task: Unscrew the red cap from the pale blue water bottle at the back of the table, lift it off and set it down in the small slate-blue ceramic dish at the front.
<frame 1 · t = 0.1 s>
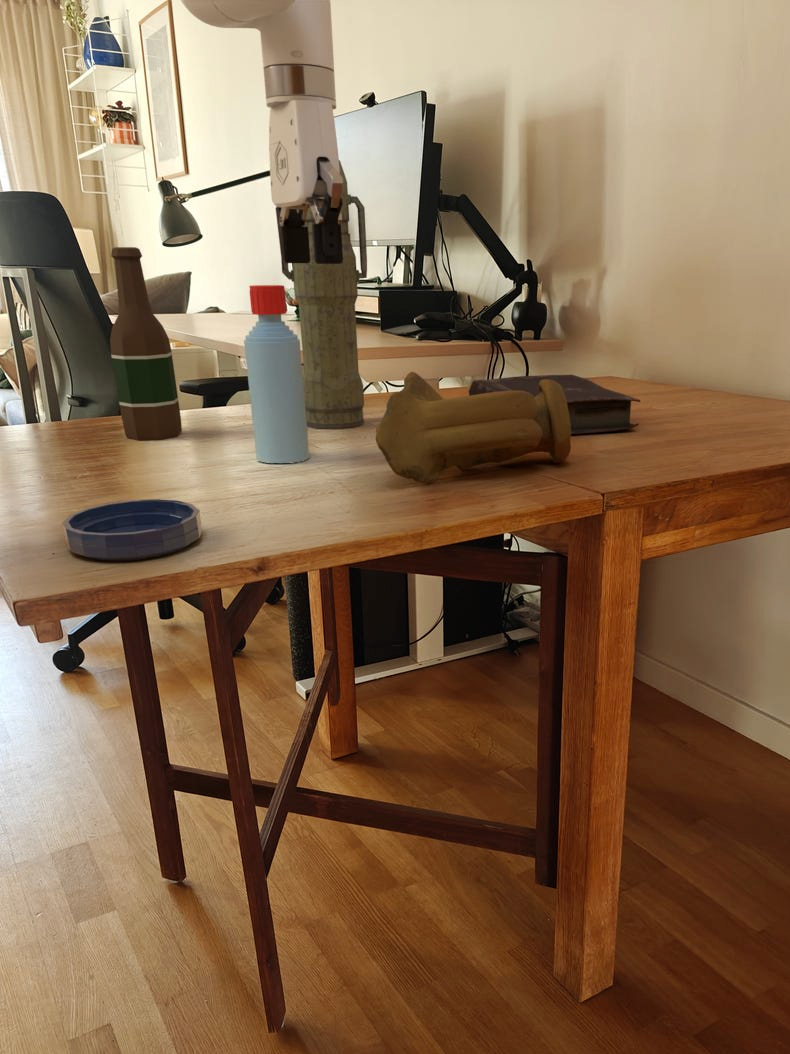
hand: (312, 263, 101), 22 cm above the table, tool pointing down, fingers open, 9 cm apart
diary: (550, 421, 131), on the table
bottle: (283, 458, 107), on the table
thermos: (334, 424, 129), on the table
beer bottle: (154, 436, 121), on the table
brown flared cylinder: (475, 473, 100), on the table
cap: (267, 288, 99), point 20 cm above the table, screwed on, not yet turned
dish: (137, 543, 76), on the table
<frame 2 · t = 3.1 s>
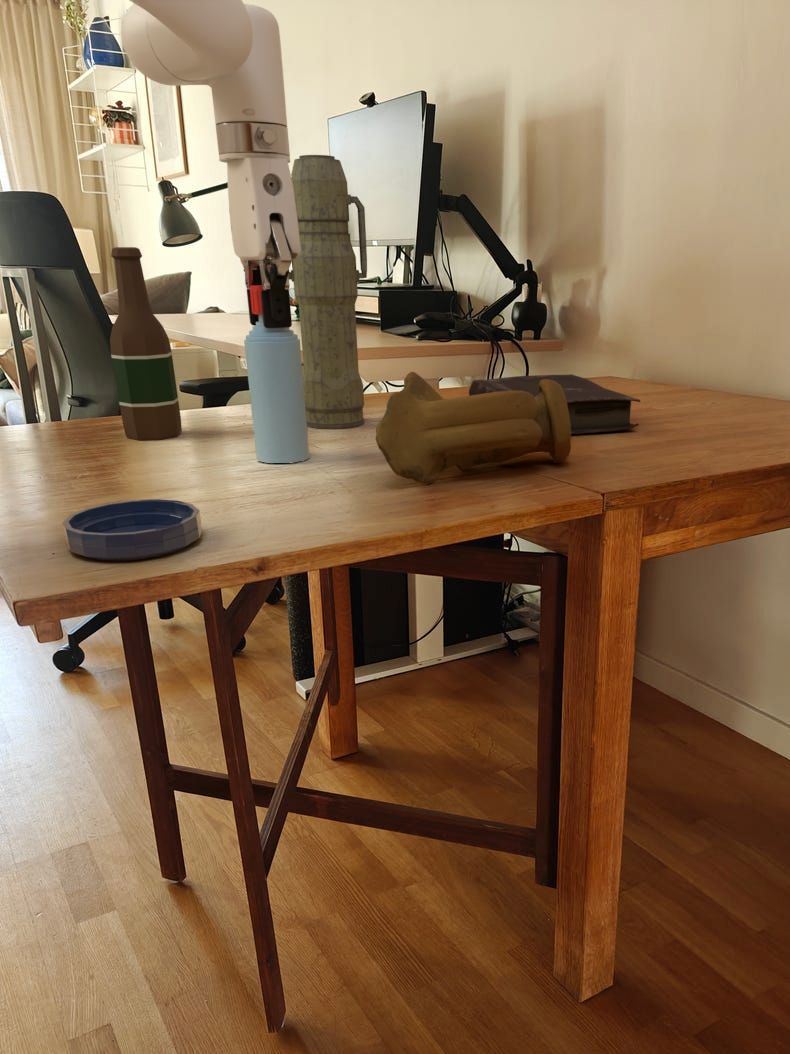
hand: (270, 324, 101), 16 cm above the table, tool pointing down, fingers open, 4 cm apart
bottle: (283, 458, 107), on the table, touching gripper
everything else where it was.
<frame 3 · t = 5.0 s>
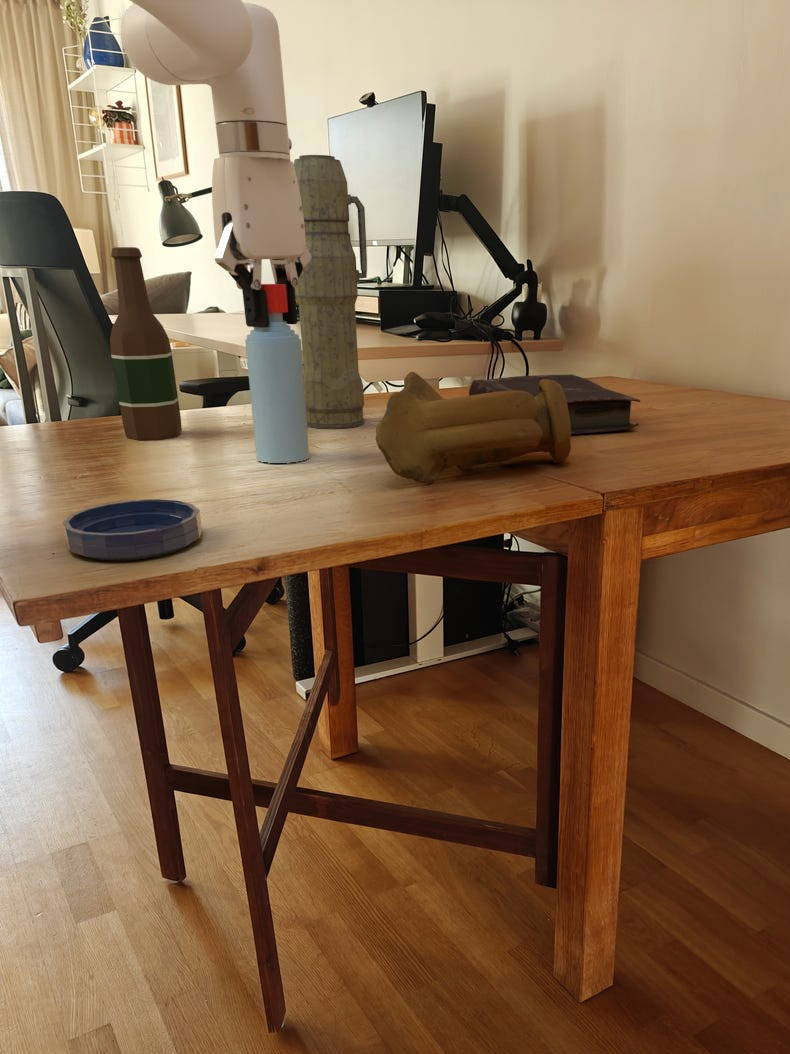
hand: (272, 323, 101), 16 cm above the table, tool pointing down, fingers closed on cap, 3 cm apart
cap: (268, 287, 99), point 20 cm above the table, turned 115° so far, risen 0.1 cm, still on its thread, touching gripper
everything else where it was.
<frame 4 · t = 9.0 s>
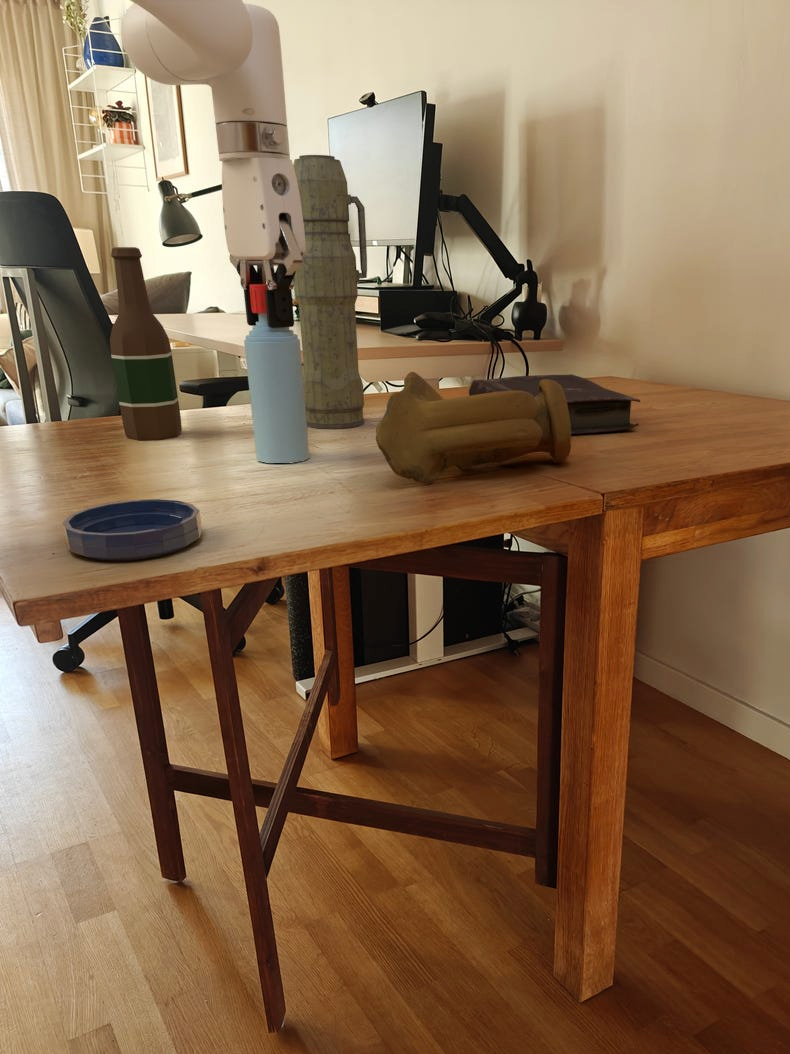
hand: (270, 324, 101), 16 cm above the table, tool pointing down, fingers closed on cap, 3 cm apart
bottle: (283, 458, 107), on the table
cap: (267, 287, 99), point 20 cm above the table, turned 127° so far, risen 0.1 cm, still on its thread, touching gripper
everything else where it was.
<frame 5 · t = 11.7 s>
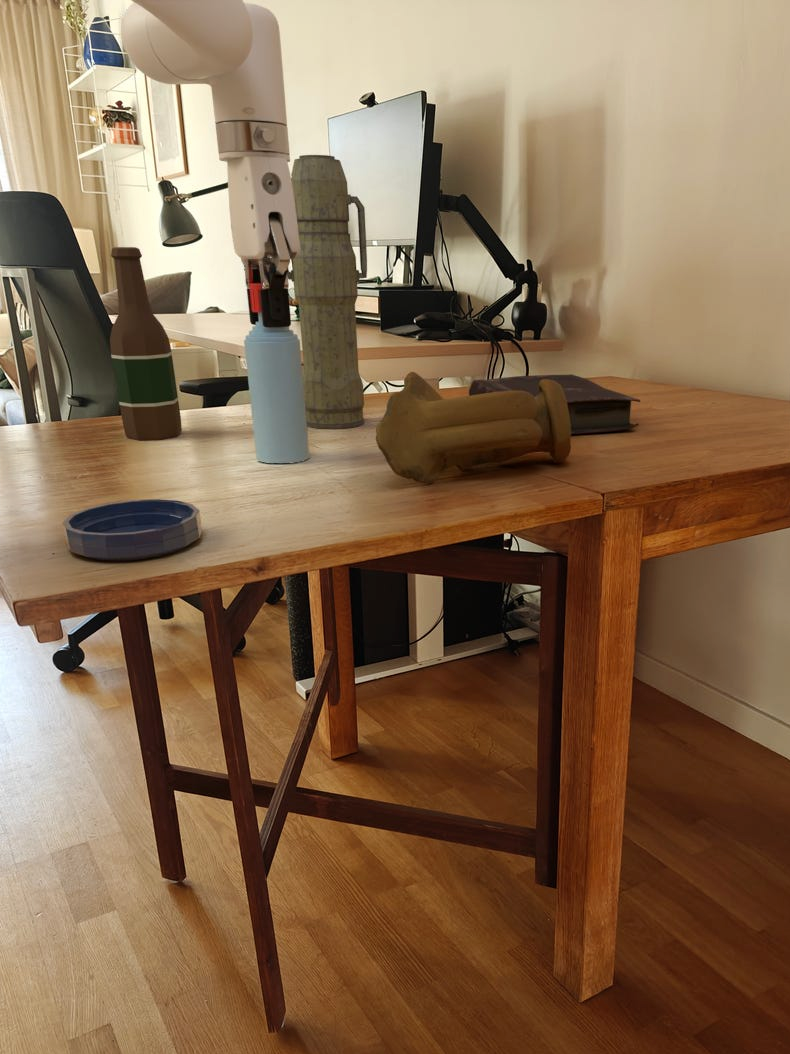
hand: (270, 323, 101), 16 cm above the table, tool pointing down, fingers closed on cap, 3 cm apart
cap: (266, 286, 99), point 20 cm above the table, turned 230° so far, risen 0.2 cm, still on its thread, touching gripper
everything else where it was.
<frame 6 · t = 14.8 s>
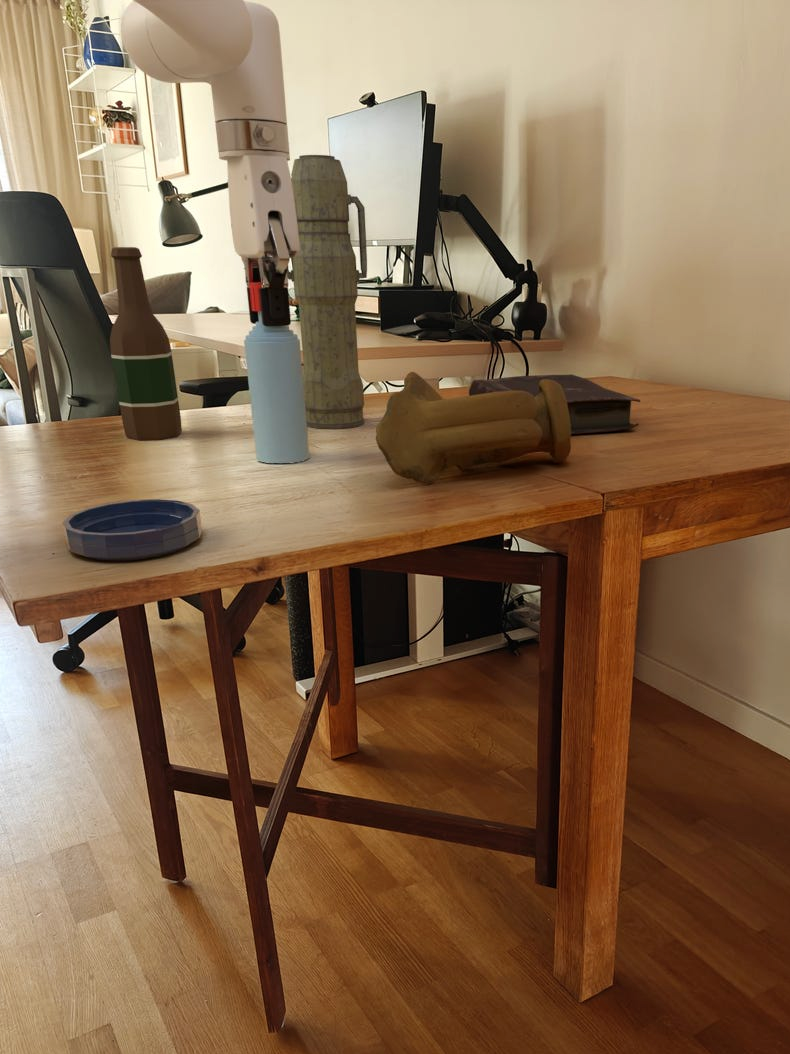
hand: (270, 322, 100), 16 cm above the table, tool pointing down, fingers closed on cap, 3 cm apart
cap: (266, 285, 99), point 20 cm above the table, turned 345° so far, risen 0.3 cm, still on its thread, touching gripper
everything else where it was.
when the fingers open (2 cm above the table, at t = 25.9 s): cap drops 3 cm, resting on dish.
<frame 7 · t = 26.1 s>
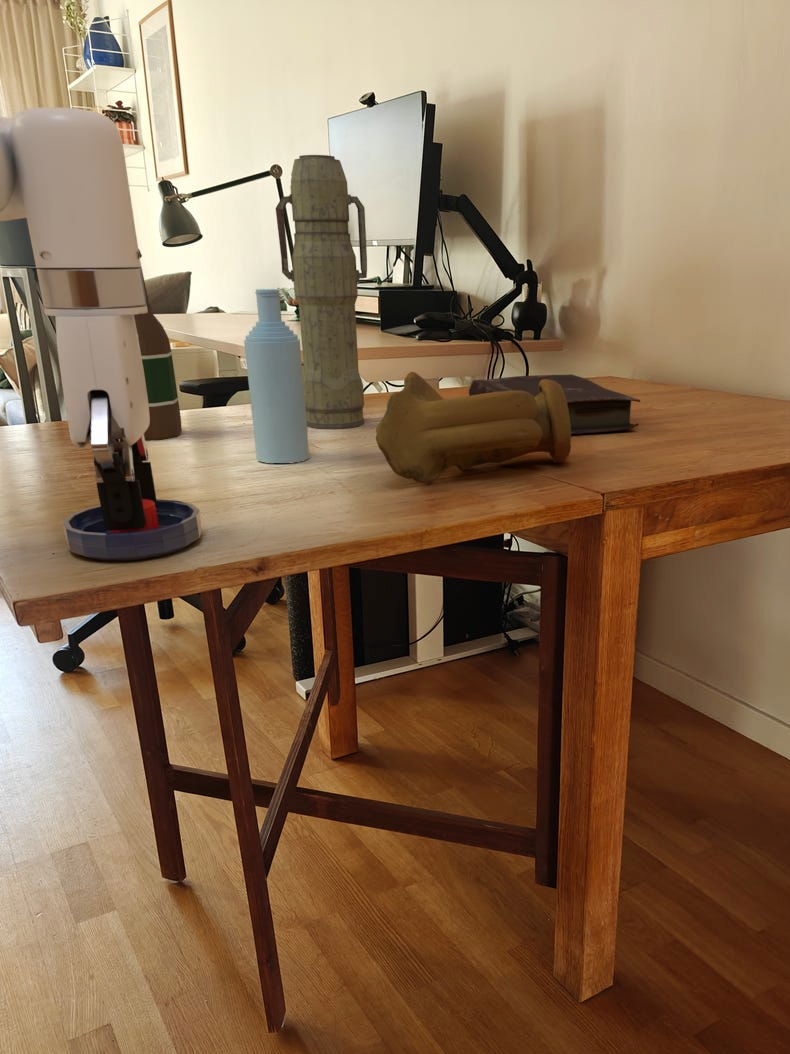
hand: (132, 515, 75), 3 cm above the table, tool pointing down, fingers open, 6 cm apart
cap: (131, 508, 74), point 3 cm above the table, off its thread, touching dish
everything else where it was.
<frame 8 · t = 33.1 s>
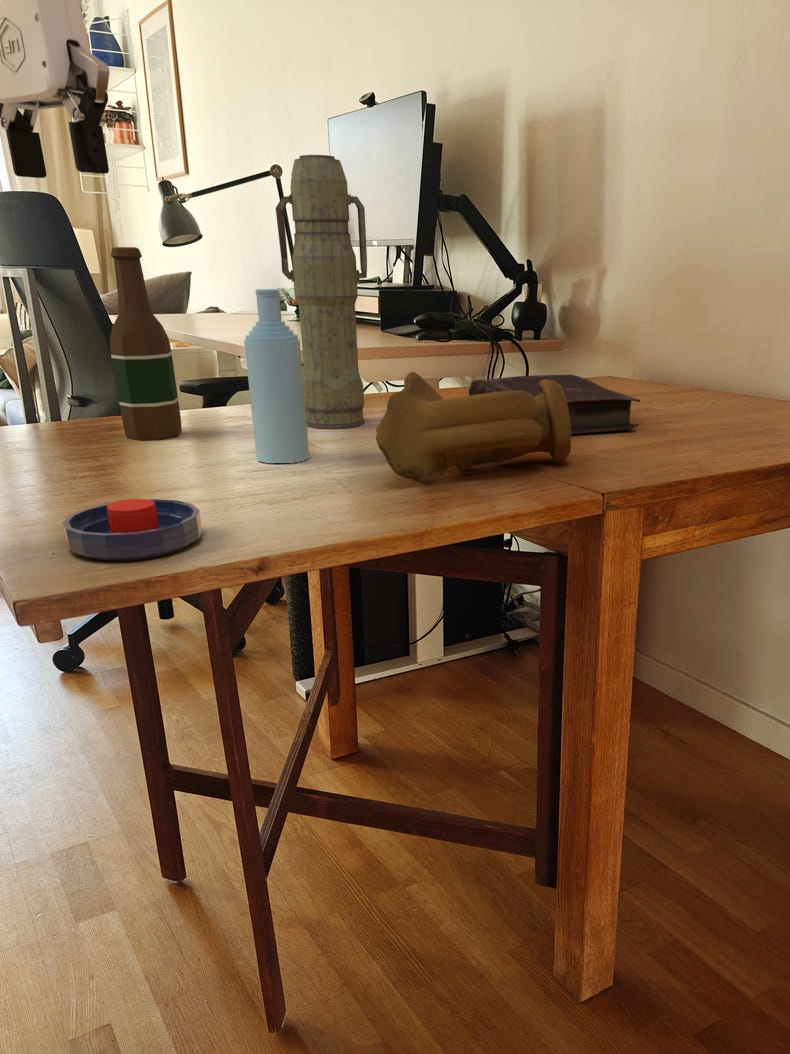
hand: (61, 174, 84), 30 cm above the table, tool pointing down, fingers open, 9 cm apart
nothing on the table moved.
at the end: cap came off its thread; cap inside the target area on the dish (0.0 cm from its centre), point 3.2 cm above the dish's base; the gripper is holding nothing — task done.
